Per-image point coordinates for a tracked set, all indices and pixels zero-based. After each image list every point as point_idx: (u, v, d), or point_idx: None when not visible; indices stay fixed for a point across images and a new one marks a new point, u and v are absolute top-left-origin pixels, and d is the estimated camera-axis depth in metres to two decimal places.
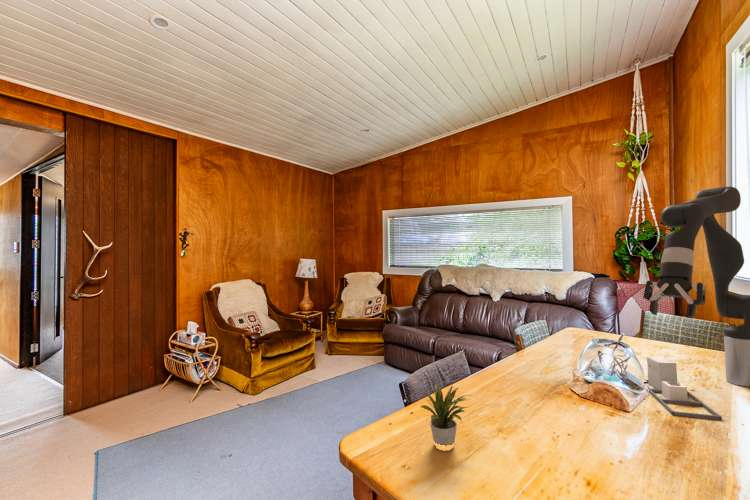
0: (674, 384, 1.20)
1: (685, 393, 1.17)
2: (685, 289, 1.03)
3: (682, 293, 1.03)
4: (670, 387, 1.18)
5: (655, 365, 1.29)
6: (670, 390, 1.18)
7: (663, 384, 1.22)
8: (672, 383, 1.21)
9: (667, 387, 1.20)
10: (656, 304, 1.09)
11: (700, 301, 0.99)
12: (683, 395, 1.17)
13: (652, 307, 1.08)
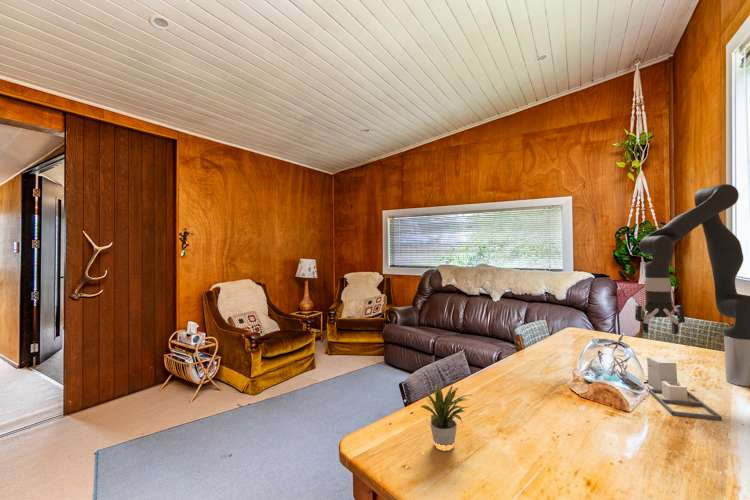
0: (674, 384, 1.20)
1: (685, 393, 1.17)
2: (670, 312, 1.28)
3: (670, 316, 1.27)
4: (670, 387, 1.18)
5: (655, 365, 1.29)
6: (670, 390, 1.18)
7: (663, 384, 1.22)
8: (672, 383, 1.21)
9: (667, 387, 1.20)
10: None
11: (683, 321, 1.26)
12: (683, 395, 1.17)
13: (646, 328, 1.30)
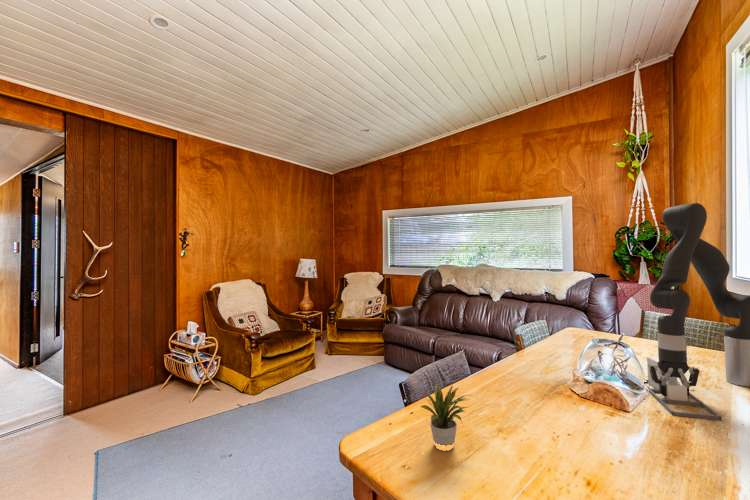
0: (674, 384, 1.20)
1: (685, 393, 1.17)
2: (684, 373, 1.19)
3: (683, 377, 1.18)
4: (670, 387, 1.18)
5: None
6: (670, 390, 1.18)
7: None
8: (672, 383, 1.21)
9: (667, 387, 1.20)
10: None
11: (695, 385, 1.17)
12: (683, 395, 1.17)
13: (664, 391, 1.20)
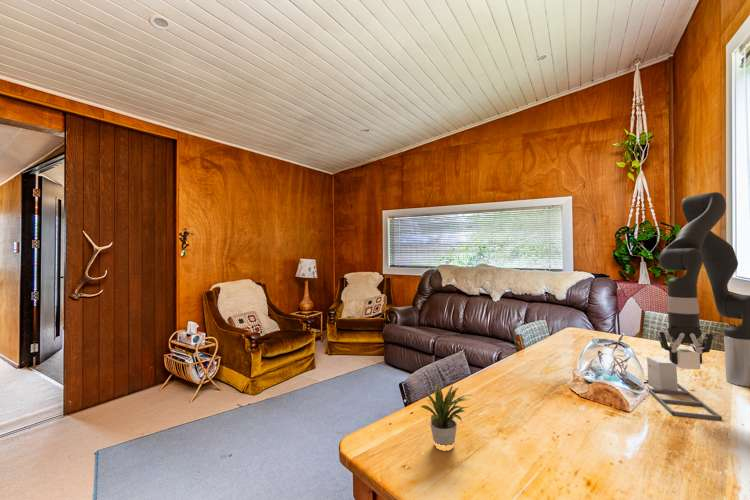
0: (685, 350, 1.11)
1: (698, 359, 1.09)
2: (697, 338, 1.10)
3: (695, 343, 1.09)
4: (681, 354, 1.10)
5: (655, 365, 1.29)
6: (681, 357, 1.10)
7: None
8: (683, 350, 1.12)
9: (678, 354, 1.11)
10: None
11: (708, 351, 1.09)
12: (695, 362, 1.09)
13: (675, 358, 1.12)
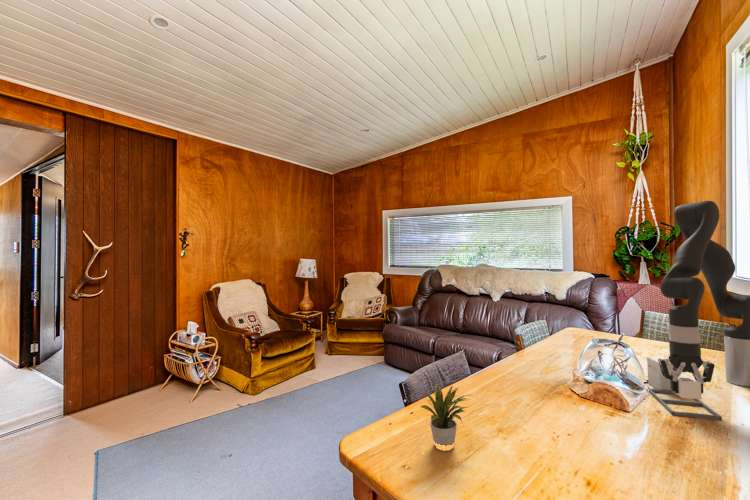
0: (687, 379, 1.11)
1: (699, 389, 1.08)
2: (698, 368, 1.10)
3: (696, 373, 1.09)
4: (682, 383, 1.10)
5: (655, 365, 1.29)
6: (683, 386, 1.10)
7: None
8: (684, 378, 1.12)
9: (679, 383, 1.11)
10: None
11: (709, 381, 1.08)
12: (697, 391, 1.09)
13: (676, 387, 1.11)
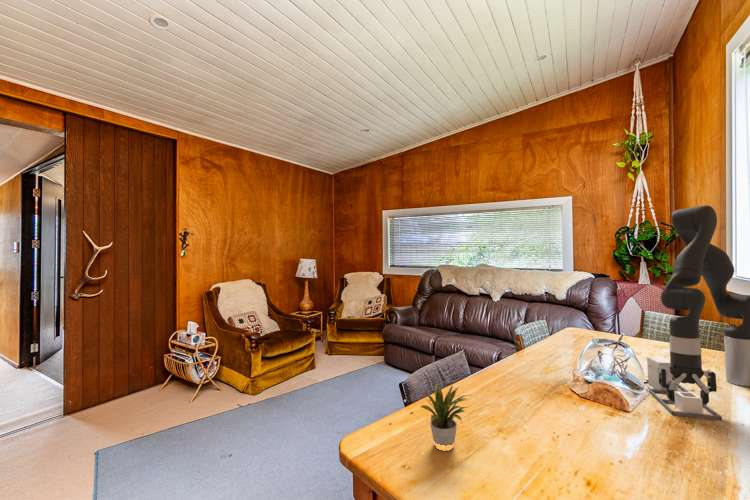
0: (688, 395, 1.11)
1: (700, 405, 1.08)
2: None
3: (699, 383, 1.09)
4: (683, 398, 1.10)
5: (655, 365, 1.29)
6: (684, 401, 1.09)
7: (676, 394, 1.13)
8: (686, 394, 1.12)
9: (680, 398, 1.11)
10: None
11: (715, 390, 1.08)
12: (698, 407, 1.08)
13: (672, 396, 1.12)
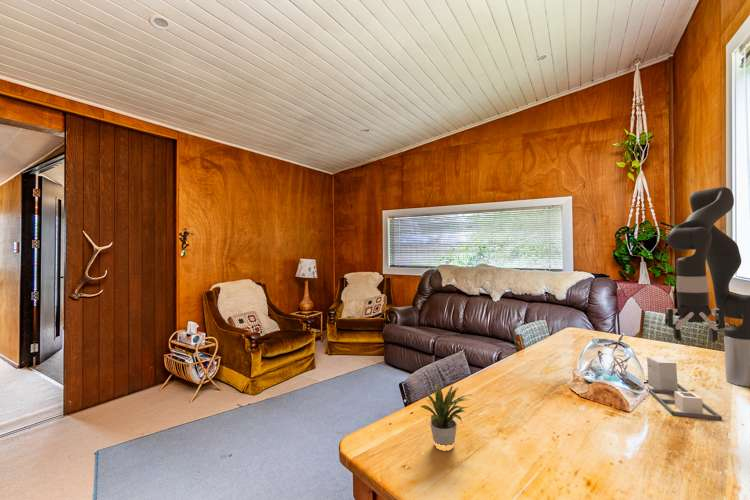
0: (688, 395, 1.11)
1: (700, 405, 1.08)
2: (707, 316, 1.10)
3: (707, 321, 1.09)
4: (683, 398, 1.10)
5: (655, 365, 1.29)
6: (684, 401, 1.09)
7: (676, 394, 1.13)
8: (686, 394, 1.12)
9: (680, 398, 1.11)
10: None
11: (724, 327, 1.08)
12: (698, 407, 1.08)
13: (678, 335, 1.12)
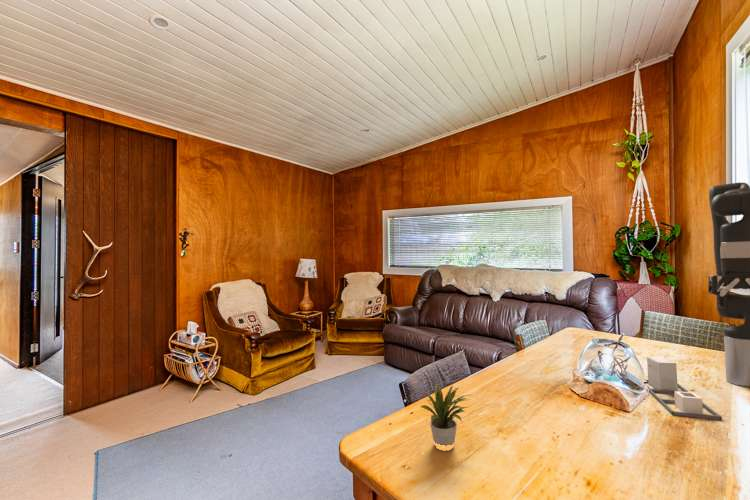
0: (688, 395, 1.11)
1: (700, 405, 1.08)
2: None
3: None
4: (683, 398, 1.10)
5: (655, 365, 1.29)
6: (684, 402, 1.09)
7: (676, 394, 1.13)
8: (686, 394, 1.12)
9: (680, 398, 1.11)
10: None
11: None
12: (698, 407, 1.08)
13: (723, 302, 1.10)
